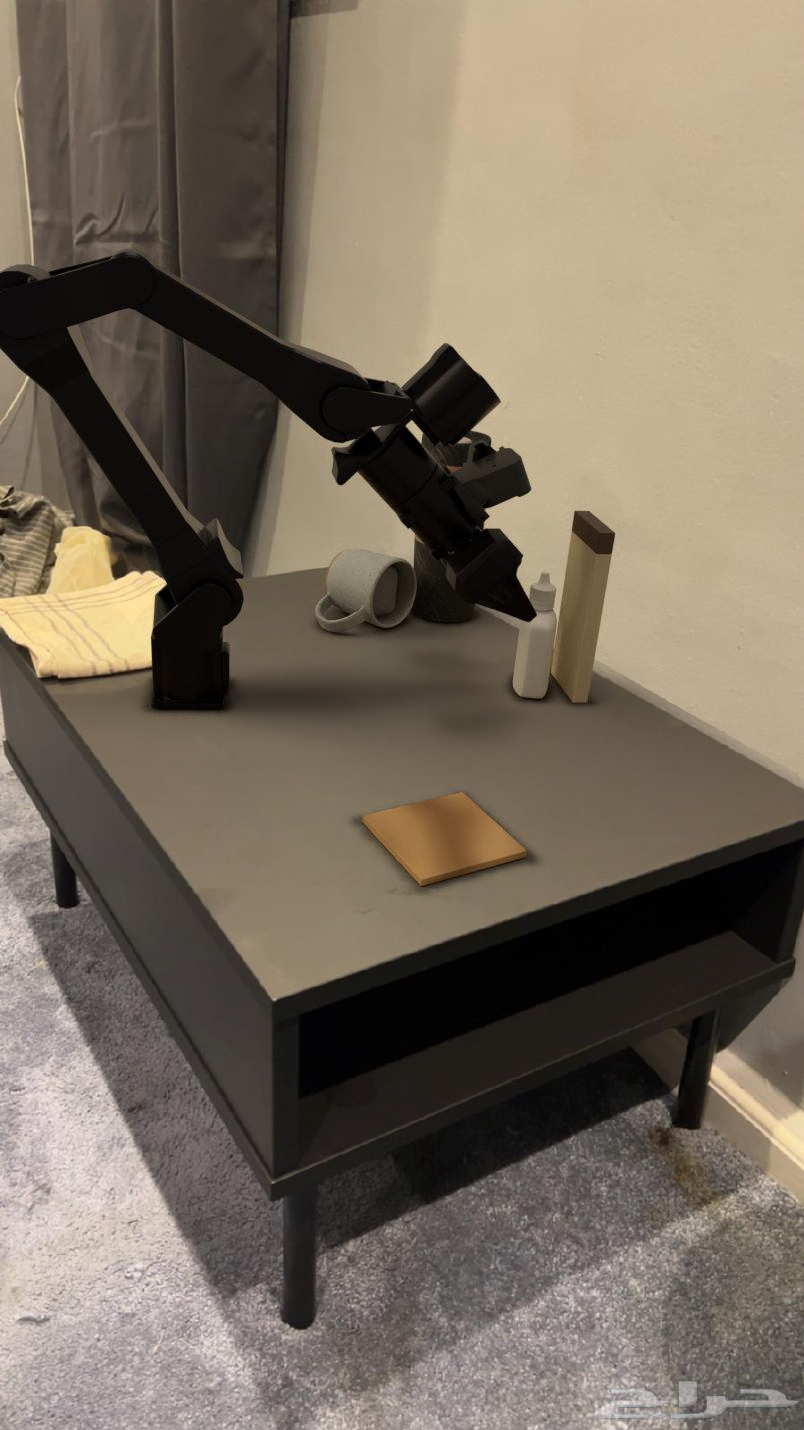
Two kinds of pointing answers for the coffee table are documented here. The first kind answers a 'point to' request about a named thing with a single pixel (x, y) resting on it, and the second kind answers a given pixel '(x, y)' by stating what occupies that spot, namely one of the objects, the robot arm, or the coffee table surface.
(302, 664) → the coffee table surface
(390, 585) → the ceramic mug
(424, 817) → the cork coaster mat
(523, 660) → the eye dropper bottle
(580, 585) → the tall wooden plank
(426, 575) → the travel mug
